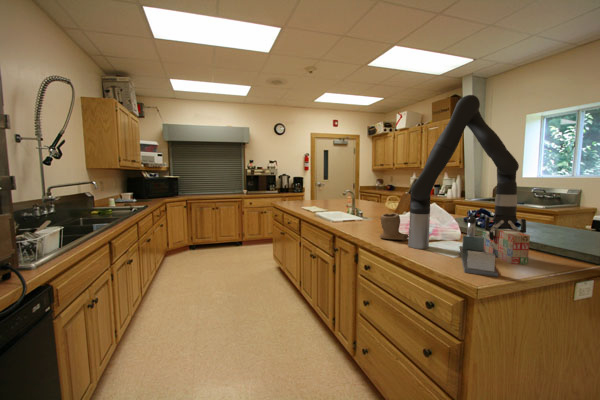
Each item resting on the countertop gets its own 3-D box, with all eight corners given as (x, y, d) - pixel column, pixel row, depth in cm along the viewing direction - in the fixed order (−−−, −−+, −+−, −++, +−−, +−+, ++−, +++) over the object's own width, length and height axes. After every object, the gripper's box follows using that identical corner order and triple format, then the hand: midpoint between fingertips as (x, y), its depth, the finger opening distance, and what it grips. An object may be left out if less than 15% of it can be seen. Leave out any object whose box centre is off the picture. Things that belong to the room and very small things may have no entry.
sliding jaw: (462, 248, 122) (464, 219, 121) (460, 241, 135) (462, 215, 134) (483, 250, 118) (485, 221, 117) (479, 243, 131) (481, 216, 130)
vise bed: (464, 272, 96) (465, 252, 96) (459, 249, 127) (460, 234, 127) (497, 277, 92) (499, 256, 91) (484, 251, 123) (485, 236, 122)
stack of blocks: (480, 249, 127) (482, 224, 126) (494, 250, 126) (496, 225, 125) (511, 264, 106) (513, 234, 105) (528, 264, 105) (530, 235, 104)
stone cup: (376, 240, 146) (377, 213, 145) (381, 235, 156) (382, 211, 155) (405, 243, 138) (406, 215, 137) (408, 239, 149) (409, 213, 147)
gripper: (487, 205, 114) (485, 241, 115) (529, 206, 107) (527, 244, 108) (484, 203, 120) (483, 237, 122) (524, 204, 113) (522, 240, 115)
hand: (503, 241), depth 115 cm, fingers open, 8 cm apart
